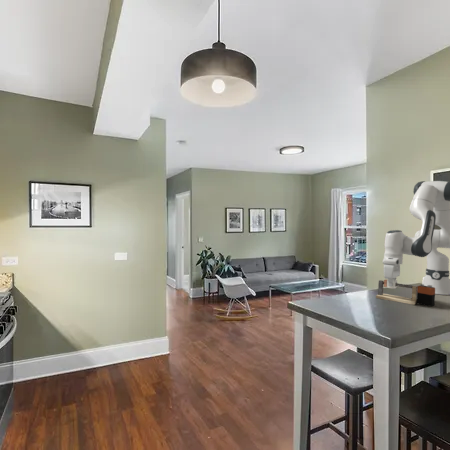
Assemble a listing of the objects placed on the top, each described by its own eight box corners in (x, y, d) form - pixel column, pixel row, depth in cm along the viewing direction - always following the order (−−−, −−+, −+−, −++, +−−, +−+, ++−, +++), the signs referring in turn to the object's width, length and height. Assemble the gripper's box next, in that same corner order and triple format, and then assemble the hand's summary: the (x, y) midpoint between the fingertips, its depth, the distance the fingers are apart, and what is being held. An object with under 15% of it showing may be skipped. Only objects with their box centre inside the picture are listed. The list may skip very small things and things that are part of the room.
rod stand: (380, 295, 173) (381, 278, 173) (417, 301, 161) (418, 283, 162) (375, 297, 166) (376, 279, 166) (414, 304, 154) (415, 285, 154)
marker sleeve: (388, 286, 168) (389, 279, 168) (396, 287, 166) (397, 280, 166) (386, 287, 165) (387, 280, 165) (395, 288, 162) (395, 281, 162)
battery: (431, 306, 152) (432, 286, 152) (416, 303, 157) (417, 284, 157) (434, 305, 154) (435, 285, 154) (419, 302, 160) (420, 283, 160)
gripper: (391, 258, 175) (390, 282, 175) (381, 260, 160) (380, 286, 160) (403, 259, 171) (402, 284, 171) (395, 261, 156) (394, 289, 156)
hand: (391, 285), depth 165 cm, fingers closed on marker sleeve, 4 cm apart
